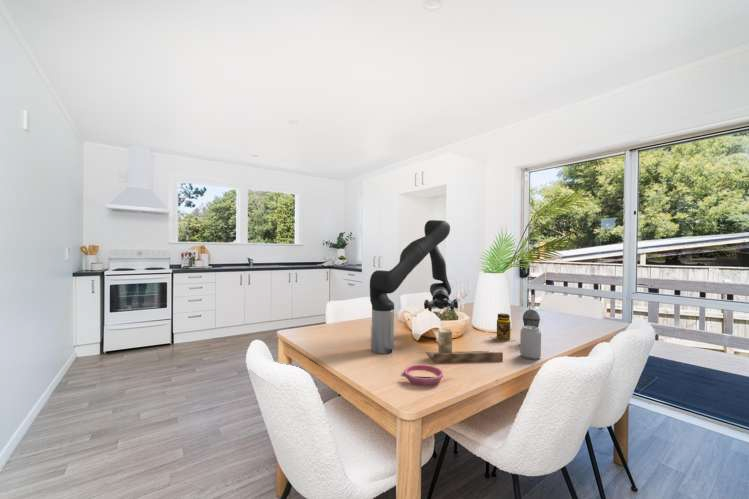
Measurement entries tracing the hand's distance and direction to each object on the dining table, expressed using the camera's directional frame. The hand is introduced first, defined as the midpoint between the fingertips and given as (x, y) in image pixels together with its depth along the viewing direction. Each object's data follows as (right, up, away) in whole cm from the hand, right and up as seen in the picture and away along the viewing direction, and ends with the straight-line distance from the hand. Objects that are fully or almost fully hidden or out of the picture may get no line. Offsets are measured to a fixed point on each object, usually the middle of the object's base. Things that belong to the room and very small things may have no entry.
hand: (441, 309), depth 135 cm
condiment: (+34, -18, +22) cm, 44 cm away
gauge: (-1, -16, -12) cm, 20 cm away
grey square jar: (+35, -18, -5) cm, 40 cm away
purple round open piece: (-12, -18, -29) cm, 36 cm away
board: (+6, -18, -10) cm, 21 cm away
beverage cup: (+44, -19, +14) cm, 49 cm away
